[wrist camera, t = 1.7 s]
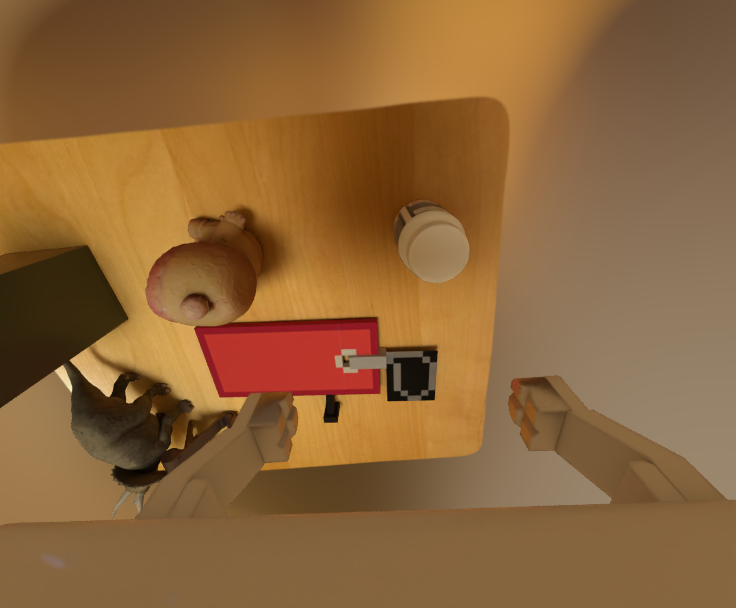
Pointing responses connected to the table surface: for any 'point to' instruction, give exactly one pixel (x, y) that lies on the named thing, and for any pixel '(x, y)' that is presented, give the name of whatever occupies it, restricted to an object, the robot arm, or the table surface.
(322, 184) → the table surface
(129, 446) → the toy dinosaur
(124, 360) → the table surface
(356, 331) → the red board with handle
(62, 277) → the trash can
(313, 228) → the table surface
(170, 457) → the tablet stand
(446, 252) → the pill bottle
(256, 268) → the figurine
